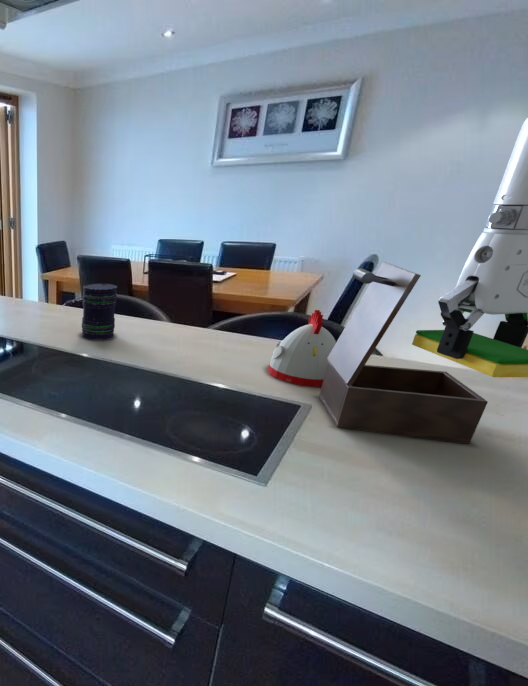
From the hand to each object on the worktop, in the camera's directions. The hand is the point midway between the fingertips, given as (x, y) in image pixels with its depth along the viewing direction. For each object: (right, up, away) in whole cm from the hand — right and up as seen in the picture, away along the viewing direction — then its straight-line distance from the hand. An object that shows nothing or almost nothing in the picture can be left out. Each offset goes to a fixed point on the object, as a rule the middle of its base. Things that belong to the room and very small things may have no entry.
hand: (476, 352), depth 62 cm
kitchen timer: (+2, -2, +40) cm, 40 cm away
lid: (-3, +6, +15) cm, 17 cm away
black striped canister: (-40, +10, +72) cm, 83 cm away
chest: (+4, -11, +20) cm, 23 cm away
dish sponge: (0, -1, 0) cm, 1 cm away
